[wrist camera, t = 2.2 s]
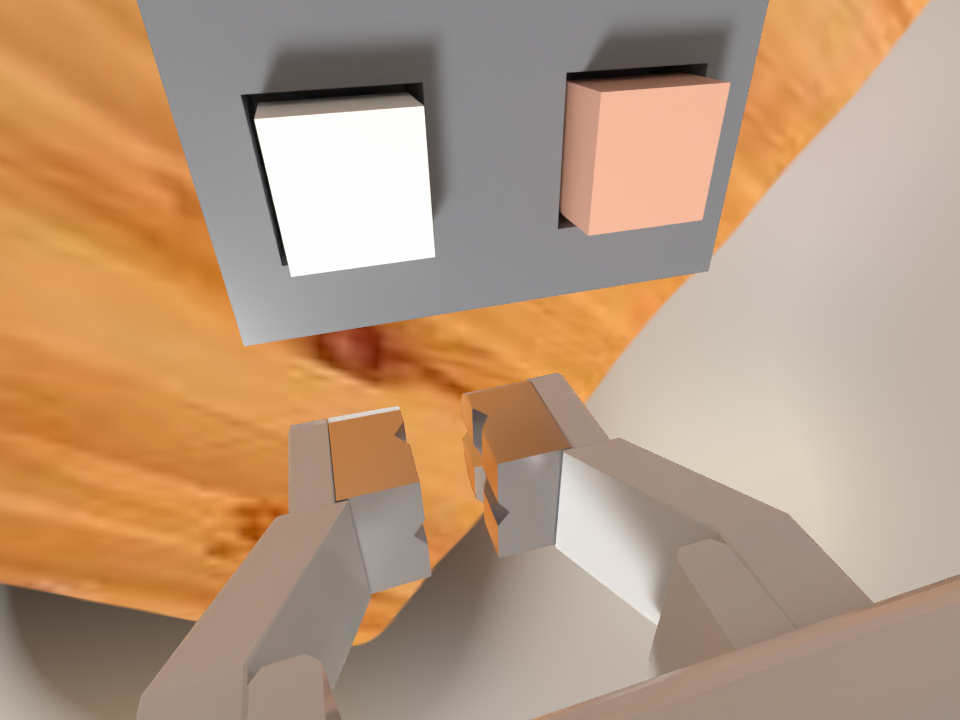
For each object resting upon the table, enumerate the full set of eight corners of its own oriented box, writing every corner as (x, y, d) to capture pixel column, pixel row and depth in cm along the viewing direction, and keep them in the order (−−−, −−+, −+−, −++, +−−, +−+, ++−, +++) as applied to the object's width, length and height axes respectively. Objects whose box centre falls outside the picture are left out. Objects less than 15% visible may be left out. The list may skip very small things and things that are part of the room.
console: (161, -22, 19) (128, -25, 15) (694, -34, 24) (777, -40, 20) (250, 291, 26) (244, 346, 22) (652, 234, 30) (708, 270, 26)
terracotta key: (565, 80, 21) (601, 92, 18) (682, 72, 22) (730, 82, 20) (557, 210, 24) (588, 235, 21) (662, 197, 25) (702, 220, 22)
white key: (258, 102, 18) (254, 119, 16) (407, 91, 20) (423, 106, 17) (290, 244, 21) (291, 276, 19) (419, 228, 22) (435, 256, 20)
